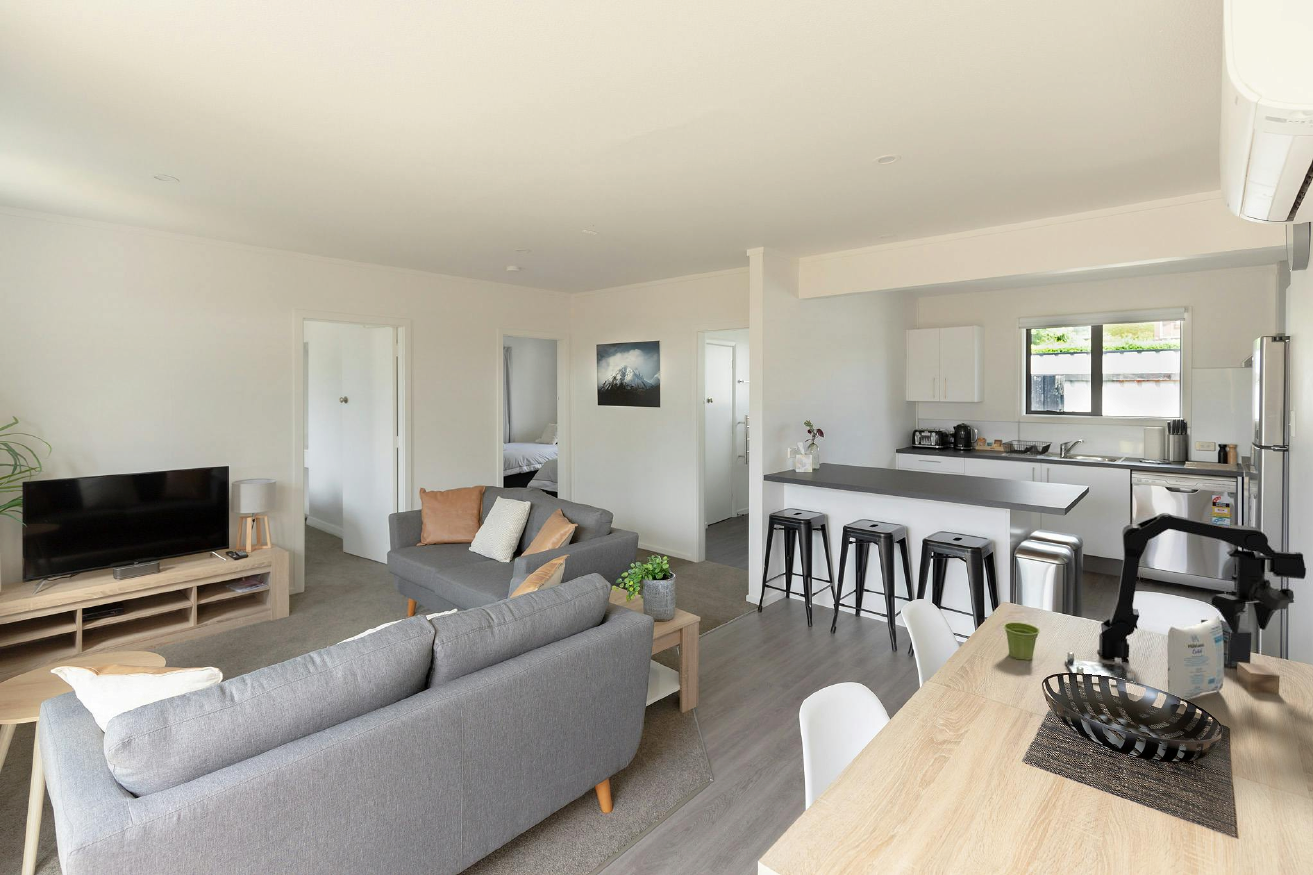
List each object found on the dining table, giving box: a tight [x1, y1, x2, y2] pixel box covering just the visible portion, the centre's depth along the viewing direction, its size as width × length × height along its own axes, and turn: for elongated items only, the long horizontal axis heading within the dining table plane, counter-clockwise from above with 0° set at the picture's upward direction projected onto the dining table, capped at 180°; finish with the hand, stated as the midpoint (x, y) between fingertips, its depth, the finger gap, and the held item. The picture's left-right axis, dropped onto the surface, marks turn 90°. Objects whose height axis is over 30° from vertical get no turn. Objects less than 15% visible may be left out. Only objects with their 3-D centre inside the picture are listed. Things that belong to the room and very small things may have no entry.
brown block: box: [1236, 662, 1281, 695], centre depth 173 cm, size 6×7×5 cm
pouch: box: [1166, 615, 1225, 701], centre depth 167 cm, size 8×19×20 cm, turn 107°
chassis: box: [1064, 651, 1137, 684], centre depth 182 cm, size 14×13×3 cm
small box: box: [1200, 619, 1253, 669], centre depth 189 cm, size 11×6×10 cm, turn 179°
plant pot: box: [1003, 622, 1040, 661], centre depth 196 cm, size 9×9×9 cm
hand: (1248, 630), depth 177 cm, fingers open, 9 cm apart
